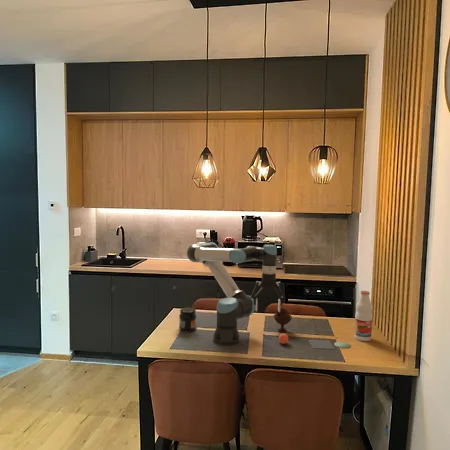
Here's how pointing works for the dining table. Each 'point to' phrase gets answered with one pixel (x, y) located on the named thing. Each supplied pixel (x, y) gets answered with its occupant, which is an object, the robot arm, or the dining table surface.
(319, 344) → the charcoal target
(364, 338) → the fruit juice
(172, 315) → the dining table surface
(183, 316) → the supplement container
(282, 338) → the ball
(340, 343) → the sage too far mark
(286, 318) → the ice cream bowl
